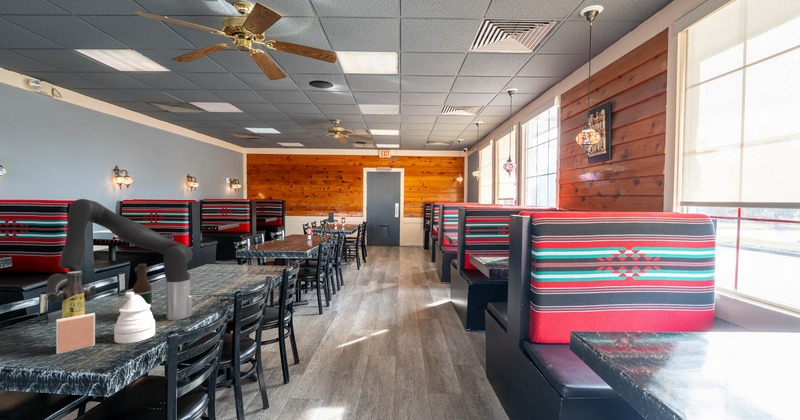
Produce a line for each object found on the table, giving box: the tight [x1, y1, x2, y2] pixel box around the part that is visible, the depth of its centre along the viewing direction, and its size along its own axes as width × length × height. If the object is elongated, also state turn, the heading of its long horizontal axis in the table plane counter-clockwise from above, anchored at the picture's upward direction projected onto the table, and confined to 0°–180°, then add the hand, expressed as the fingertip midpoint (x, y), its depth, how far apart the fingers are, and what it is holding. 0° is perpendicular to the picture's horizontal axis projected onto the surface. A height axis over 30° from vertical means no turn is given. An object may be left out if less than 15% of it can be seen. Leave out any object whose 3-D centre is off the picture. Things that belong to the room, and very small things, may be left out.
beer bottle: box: [132, 263, 153, 313], centre depth 163 cm, size 8×8×24 cm
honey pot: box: [113, 291, 156, 344], centre depth 136 cm, size 13×13×18 cm
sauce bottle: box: [61, 270, 87, 319], centre depth 126 cm, size 7×6×20 cm
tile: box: [55, 312, 96, 355], centre depth 124 cm, size 10×2×12 cm, turn 139°
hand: (75, 297), depth 124 cm, fingers closed on sauce bottle, 6 cm apart
